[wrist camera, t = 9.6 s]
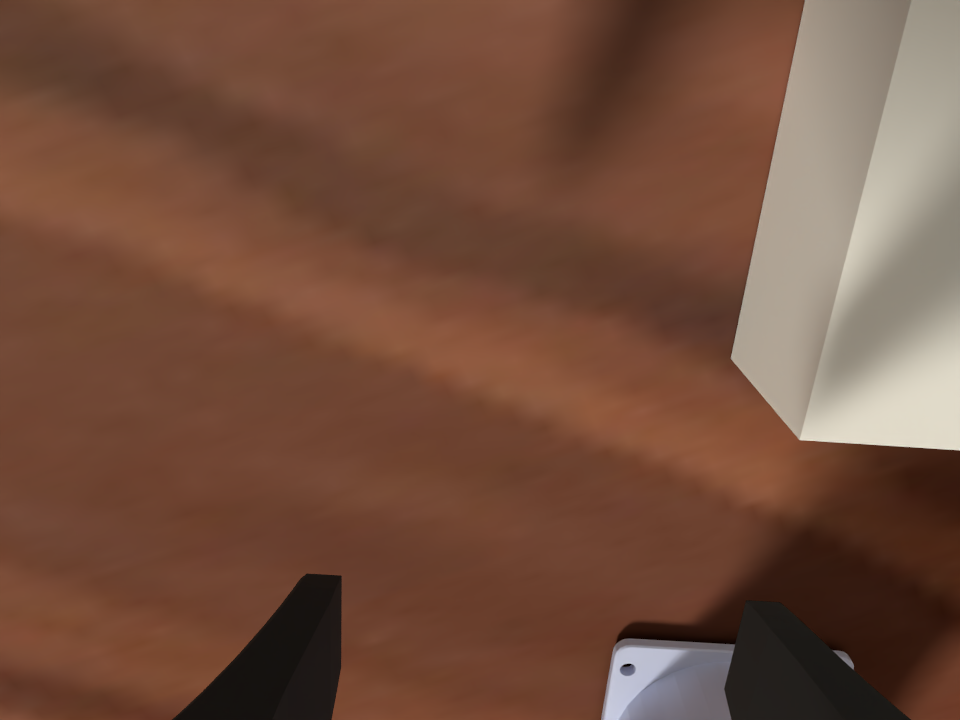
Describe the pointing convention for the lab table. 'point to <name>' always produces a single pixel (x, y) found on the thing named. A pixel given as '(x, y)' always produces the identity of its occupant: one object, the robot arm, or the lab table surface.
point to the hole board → (862, 231)
